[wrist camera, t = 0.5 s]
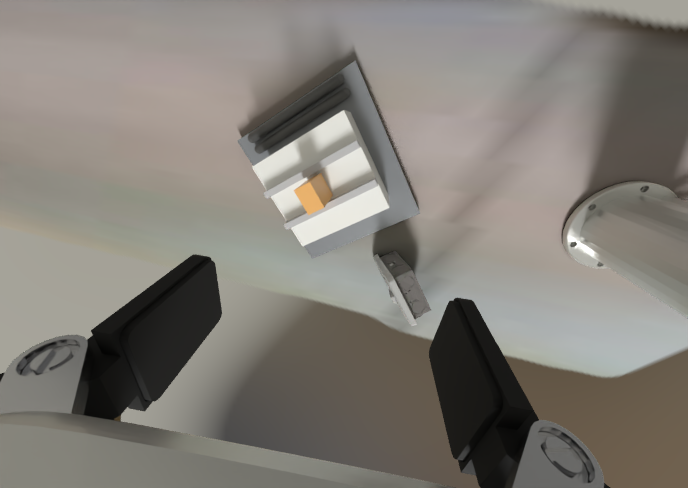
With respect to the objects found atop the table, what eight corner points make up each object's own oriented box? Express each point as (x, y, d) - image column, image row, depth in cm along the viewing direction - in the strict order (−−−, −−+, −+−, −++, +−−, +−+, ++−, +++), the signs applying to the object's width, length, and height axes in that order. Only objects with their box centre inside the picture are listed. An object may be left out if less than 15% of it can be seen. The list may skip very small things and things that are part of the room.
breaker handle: (320, 172, 29) (309, 181, 25) (332, 195, 30) (324, 207, 26) (306, 180, 30) (293, 190, 25) (319, 201, 31) (308, 215, 26)
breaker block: (356, 62, 30) (347, 42, 23) (418, 210, 37) (428, 233, 30) (242, 140, 36) (204, 145, 29) (314, 254, 43) (299, 282, 36)
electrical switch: (371, 253, 42) (375, 284, 33) (400, 241, 41) (411, 269, 32) (393, 295, 45) (401, 332, 37) (420, 284, 44) (435, 320, 35)
